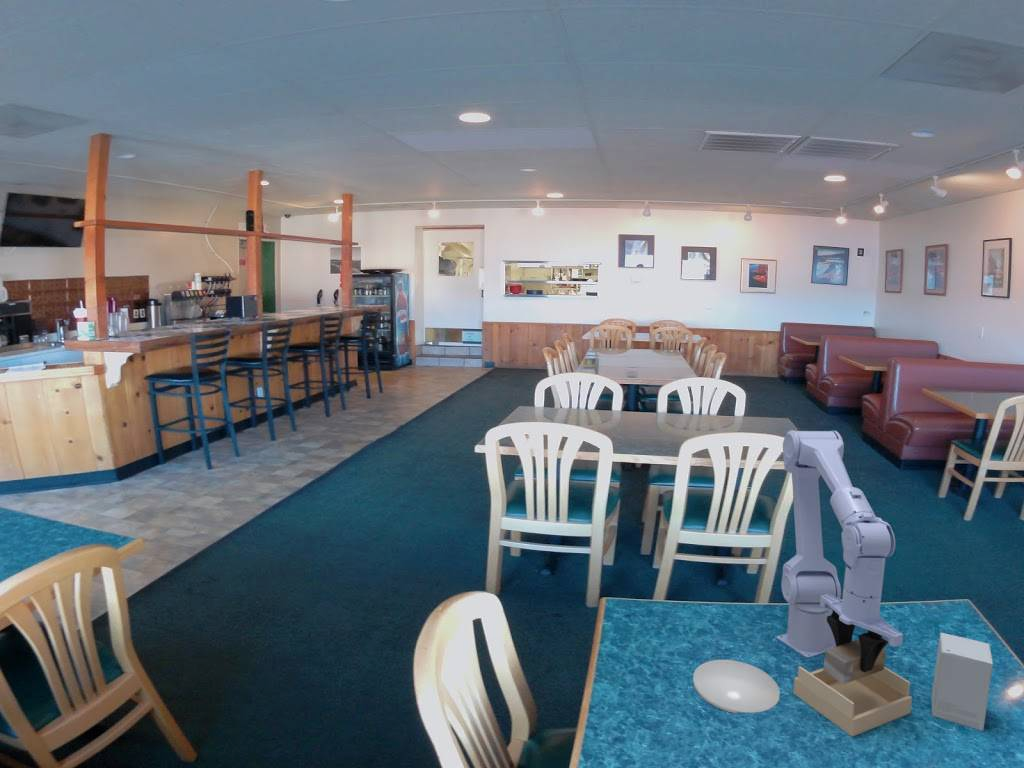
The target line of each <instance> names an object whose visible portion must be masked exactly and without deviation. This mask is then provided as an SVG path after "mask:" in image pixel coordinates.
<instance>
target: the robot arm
mask: <svg viewBox="0 0 1024 768" xmlns="http://www.w3.org/2000/svg"><path fill="white" fill-rule="evenodd" d="M844 447H845V445H844V439H843V438H842V435H841V434H840V433H839V431H837V430H829V431H828V430H824V431H821V430H799V431H798V430H793V429H792V430H789V431H787V433H786V434H785V436H784V439H783V442H782V457H783V465H784V470H785V471H786V472H788V473H790V474H791V482H792V497H793V502H792V503H793V515H794V530H795V531H794V532H795V534H794V535H795V549H796V553H795V555H794V556H793V557H792V558H790V559H789V560H788V561H786V562H785V563H784V564H783V565H782V566H783V567H782V576H781V584H780V585H781V592H782V596H783V598H784V600H785V601H786V602H787V603H788V604H789V606H788V617H787V618H788V619H787V628H786V633H783V634H781V635H777V636H776V639H777V640H778V641H781V642H782V643H783V644H785V645H786V646H788V647H789V648H792V649H793V650H794V651H796V652H797V653H799V654H800V655H802V656H804V657H806V658H811V657H814V656H817V655H821V654H825V650H828V649H831V648H834V647H837V646H840V645H843V644H846V643H849V642H852V641H853V636H854V635H853V634H854V632H855V628H856V627H859V628H861V629H864V630H867V632H863V633H860V634H858V636H857V637H858V640H859V642H860V647H861V661H860V668H861V671H863V672H867V671H870V670H872V668H873V666H874V663H875V661H876V659H877V657H878V655H879V654H880V652H881V651H882V649H883V648H886V646H887V645H889V646H891V647H892V648H895V647H896V648H897V647H899V646H901V645H903V639H904V634H903V633H902V632H900V631H899V630H897V629H896V628H895V627H894V626H892V625H891V624H890V622H889V623H888V622H887V620H885V619H884V618H883V617H882V616H881V615H880V611H881V610H880V609H881V601H882V592H883V583H884V575H885V574H884V573H885V567H886V565H885V564H886V558H890V557H892V556H893V554H894V552H895V549H896V538H895V533H894V531H893V529H892V527H891V525H890V524H889V522H887V521H884V520H883V519H882V518H881V517H877V516H876V514H875V512H874V510H873V508H872V507H871V505H870V502H869V501H868V500H867V497H866V495H865V494H864V491H863V490H861V489H860V488H858V487H854V486H853V484H852V481H851V479H850V476H849V474H848V472H847V469H846V466H845V463H844V461H843V457H844V453H845V452H844V450H845V449H844ZM820 477H822V479H823V481H824V482H825V483H826V486H827V487H828V488H829V490H830V492H831V494H832V495H831V497H830V500H829V502H830V503H829V504H830V505H831V507H832V510H833V512H834V514H835V516H836V518H837V521H838V522H839V524H840V526H841V529H842V532H841V543H842V544H841V545H842V548H843V553H842V558H843V561H844V562H845V571H844V579H843V580H844V581H843V588H842V587H841V583H840V581H839V577H838V570H837V567H836V566H835V565H834V564H833V563H831V562H830V561H829V560H827V558H825V557H824V545H823V533H822V531H823V529H822V517H821V515H822V514H821V501H820V500H821V499H820V487H819V486H820V485H819V479H820ZM841 596H842V598H841Z"/></svg>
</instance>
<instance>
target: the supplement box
mask: <svg viewBox="0 0 1024 768" xmlns="http://www.w3.org/2000/svg"><path fill="white" fill-rule="evenodd" d="M937 645H938V646H937V654H936V660H935V661H936V662H935V669H934V677H933V684H932V690H931V712H932V716H933V717H936V718H938V719H942V720H945V721H949V722H952V723H956V724H959V725H962V726H965V727H969V728H973V729H976V730H980V731H984V729H985V721H986V715H987V708H988V700H989V694H990V689H991V688H990V686H991V679H992V675H993V674H992V673H993V666H994V661H993V657H992V651H991V646H990V643H987V642H982V641H979V640H976V639H971V638H967V637H961V636H958V635H953V634H949V633H944V632H940V633H939V639H938V644H937Z"/></svg>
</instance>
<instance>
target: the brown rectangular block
mask: <svg viewBox="0 0 1024 768" xmlns="http://www.w3.org/2000/svg"><path fill="white" fill-rule="evenodd" d="M833 647H834V646H833ZM886 652H887V649H886V647H884V648H883V649H882V651H881V652H880V654H879V655H878V657H877V659H876V661H875V663H874V666H873V668H872V670H870V671H867V672H863V671H861V668H860V661H861V647H860V642H859V639H856V640H852V642H849V643H846V644H843V645H840V646H837V647H834V648H831V649H828V650H825V652H824V659H823V660H824V661H823V668H824V669H823V671H824V672H825V673H827V674H828V675H830V676H831V677H833V678H834V679H836V680H837V681H839V682H840V683H842V684H846V683H848V682H851V681H854V680H857V679H860V678H862V677H865V676H868V675H871V674H874V673H876V672H879V671H882V670H884V667H885V663H886V662H885V660H886V654H887V653H886Z"/></svg>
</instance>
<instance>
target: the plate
mask: <svg viewBox="0 0 1024 768" xmlns="http://www.w3.org/2000/svg"><path fill="white" fill-rule="evenodd" d="M692 676H693V678H692V682H693V683H692V684H693V687H694V689H695V691H696V692H697V694H698V696H700V697H701V698H702V699H703V700H704V701H705V702H707V703H708V704H709V705H711V706H713V707H715V708H717V709H720V710H722V711H725V712H728V713H731V714H735V715H740V713H745V714H747V713H748V714H752V713H762V712H766V711H768V710H771V709H772V708H774V707H775V706H776V705H777V704H778V703H779V700H780V698H781V695H780V694H781V692H780V688H779V686H778V684H777V682H776V681H775V680H774V679H773V678H772V676H770V675H769V674H768V673H766V672H765V671H763V670H762V669H761V668H759V667H756V666H754V665H751V664H748V663H745V662H742V661H738V660H731V659H714V660H709V661H706V662H703V663H702V664H700V665H698V666H697V668H696V669H695V670H694V672H693V675H692Z"/></svg>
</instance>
